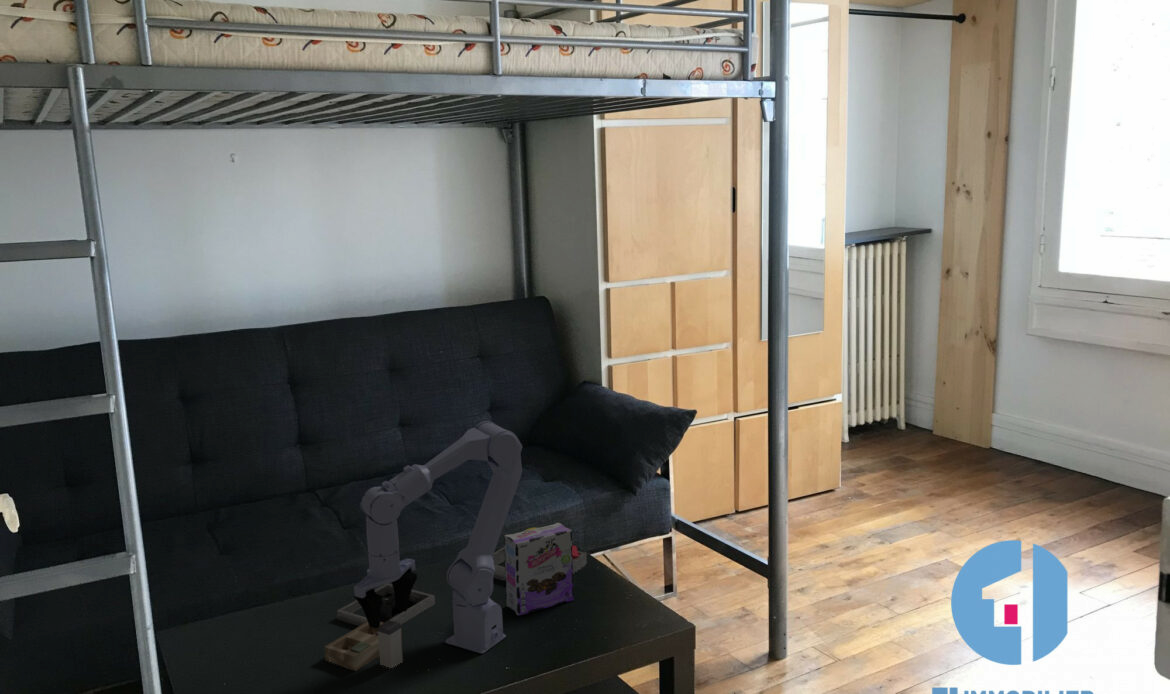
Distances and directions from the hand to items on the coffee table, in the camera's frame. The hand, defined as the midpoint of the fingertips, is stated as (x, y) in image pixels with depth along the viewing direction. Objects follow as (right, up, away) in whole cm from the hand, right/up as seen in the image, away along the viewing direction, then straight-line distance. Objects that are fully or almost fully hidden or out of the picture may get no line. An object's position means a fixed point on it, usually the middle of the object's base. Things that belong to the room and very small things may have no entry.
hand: (388, 618), depth 182 cm
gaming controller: (-3, -6, +23) cm, 24 cm away
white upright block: (0, -9, +2) cm, 9 cm away
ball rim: (+26, -1, +43) cm, 50 cm away
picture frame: (-5, -5, +23) cm, 24 cm away
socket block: (-6, -8, +7) cm, 12 cm away
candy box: (+28, -4, +26) cm, 38 cm away
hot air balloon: (+28, -1, +43) cm, 52 cm away
